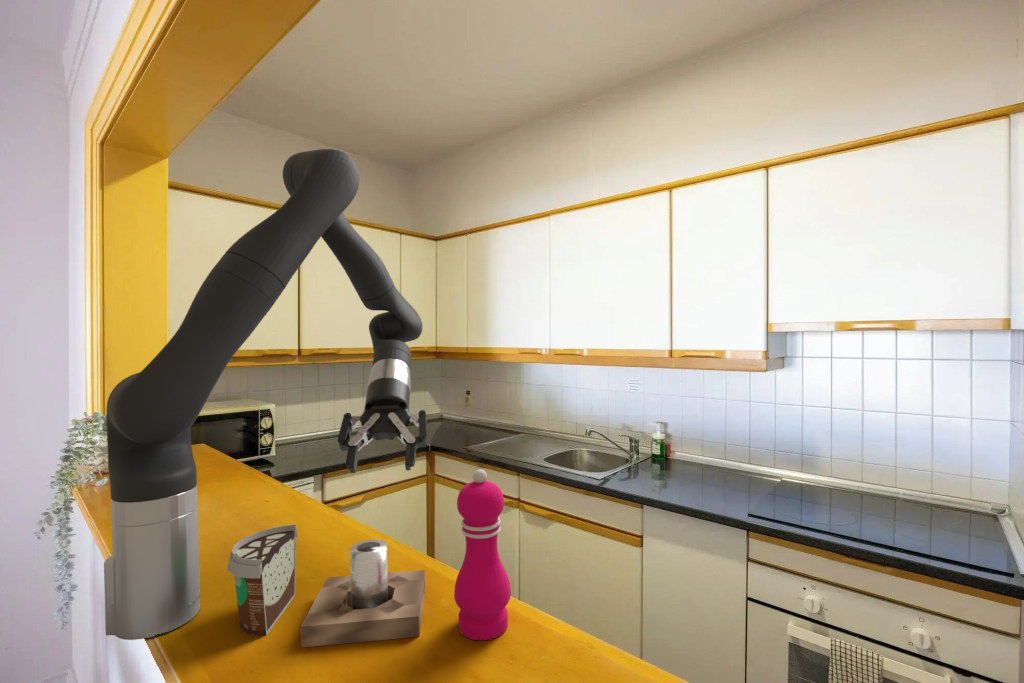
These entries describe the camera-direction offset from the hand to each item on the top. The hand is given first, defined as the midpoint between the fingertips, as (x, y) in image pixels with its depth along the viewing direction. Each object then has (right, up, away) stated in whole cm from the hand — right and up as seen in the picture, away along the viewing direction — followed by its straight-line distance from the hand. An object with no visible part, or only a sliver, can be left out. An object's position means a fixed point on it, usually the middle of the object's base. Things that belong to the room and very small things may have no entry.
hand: (380, 469), depth 75 cm
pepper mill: (+17, -16, -14) cm, 28 cm away
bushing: (+2, -16, -11) cm, 20 cm away
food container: (-13, -17, -11) cm, 24 cm away
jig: (+2, -16, -11) cm, 20 cm away
